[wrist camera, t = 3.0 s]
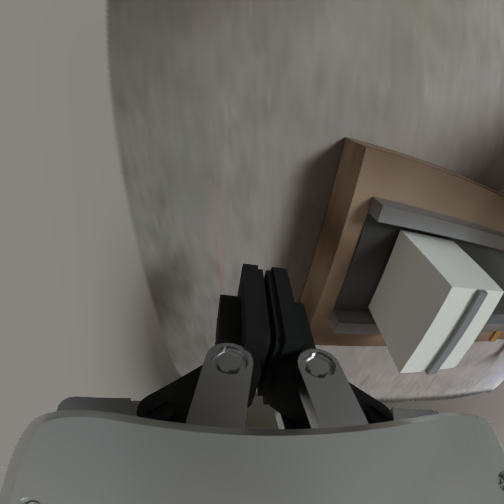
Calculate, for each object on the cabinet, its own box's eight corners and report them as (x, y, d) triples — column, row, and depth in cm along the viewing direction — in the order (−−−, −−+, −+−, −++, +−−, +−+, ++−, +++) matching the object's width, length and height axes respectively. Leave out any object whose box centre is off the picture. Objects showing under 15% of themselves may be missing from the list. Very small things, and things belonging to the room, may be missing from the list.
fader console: (345, 137, 15) (376, 152, 11) (557, 222, 18) (583, 242, 14) (295, 313, 21) (306, 358, 17) (510, 318, 24) (529, 343, 20)
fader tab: (400, 229, 14) (455, 290, 10) (452, 241, 15) (507, 294, 10) (368, 307, 16) (401, 377, 12) (419, 310, 17) (456, 370, 12)
